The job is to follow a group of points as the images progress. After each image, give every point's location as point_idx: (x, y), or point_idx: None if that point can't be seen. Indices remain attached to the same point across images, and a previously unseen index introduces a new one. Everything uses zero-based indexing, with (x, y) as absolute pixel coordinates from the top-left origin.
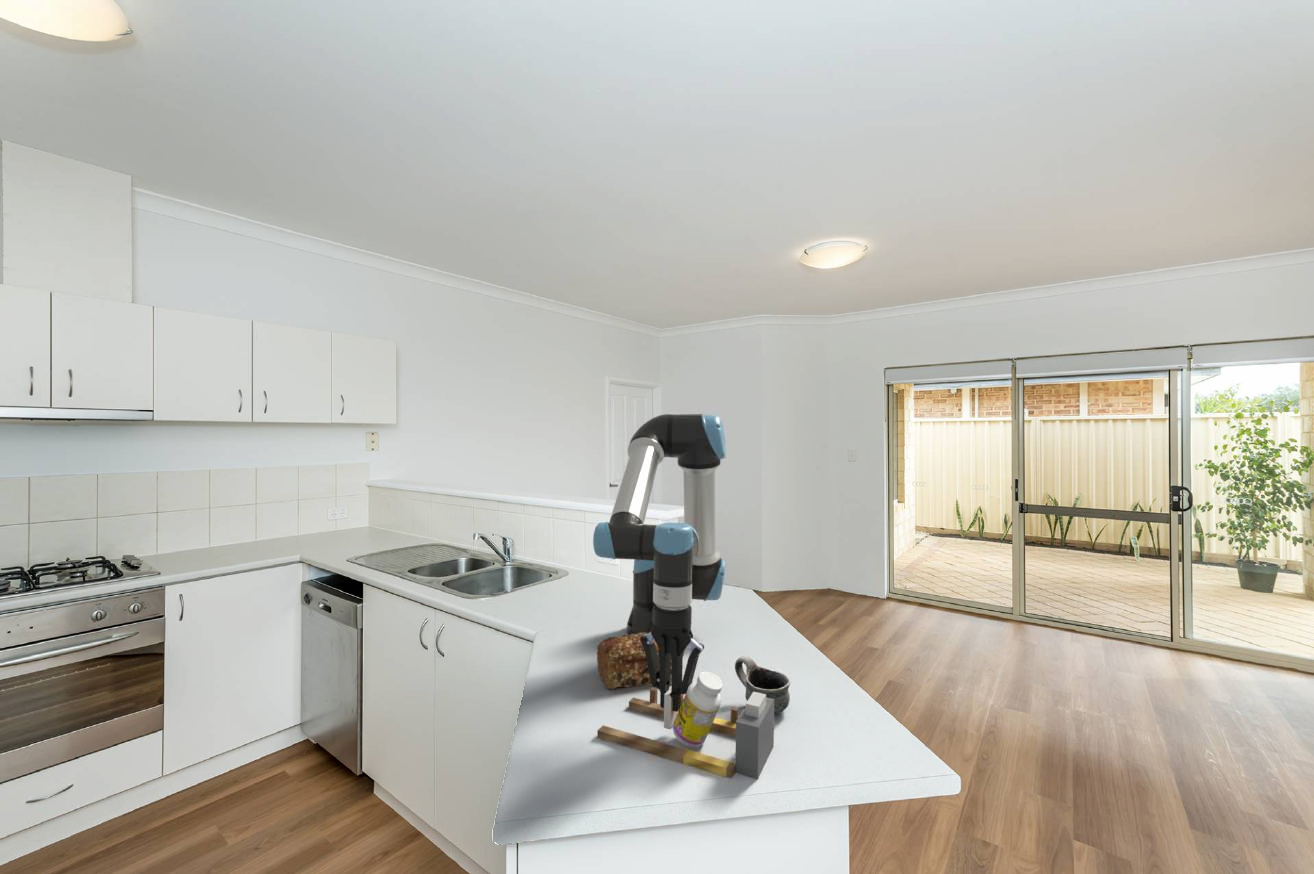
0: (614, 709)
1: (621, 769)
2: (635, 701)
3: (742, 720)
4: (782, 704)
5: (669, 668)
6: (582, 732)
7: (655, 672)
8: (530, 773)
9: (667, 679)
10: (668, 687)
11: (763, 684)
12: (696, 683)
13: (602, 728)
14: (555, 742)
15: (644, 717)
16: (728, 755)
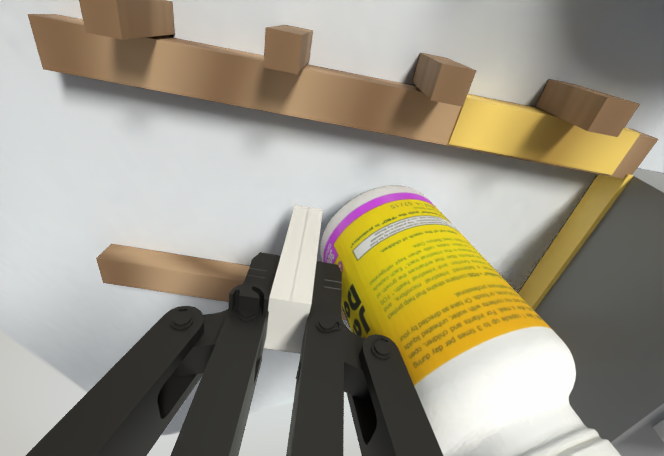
0: (24, 91)
1: None
2: (68, 57)
3: (621, 451)
4: None
5: (234, 444)
6: (59, 253)
7: (157, 431)
8: (95, 379)
9: (251, 389)
10: (265, 330)
11: None
12: (452, 452)
13: (108, 273)
14: (42, 302)
15: (171, 117)
16: (501, 254)
